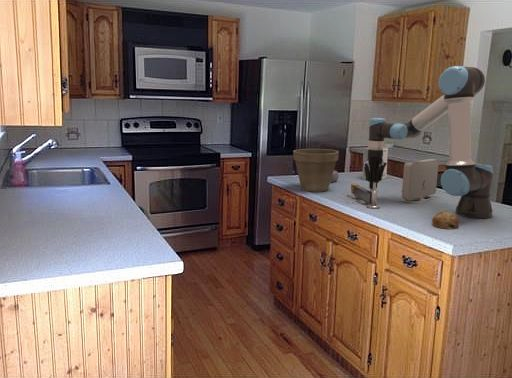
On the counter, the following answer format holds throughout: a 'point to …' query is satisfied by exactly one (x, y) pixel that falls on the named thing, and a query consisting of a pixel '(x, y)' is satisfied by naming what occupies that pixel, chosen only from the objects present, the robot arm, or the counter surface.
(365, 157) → the hard drive box
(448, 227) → the bread roll
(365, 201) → the power supply label
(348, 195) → the psu label
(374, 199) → the pivot post
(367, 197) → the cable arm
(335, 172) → the small grey backpack
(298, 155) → the plant pot
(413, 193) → the network device
